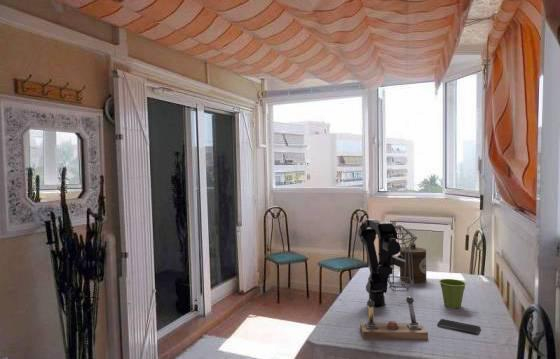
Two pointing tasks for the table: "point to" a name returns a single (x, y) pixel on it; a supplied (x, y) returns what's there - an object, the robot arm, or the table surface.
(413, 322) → the graphite lever
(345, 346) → the table surface
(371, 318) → the dark gray metal lever
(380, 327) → the switch panel
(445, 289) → the plant pot
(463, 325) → the phone
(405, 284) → the geometric lantern
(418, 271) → the wooden container
